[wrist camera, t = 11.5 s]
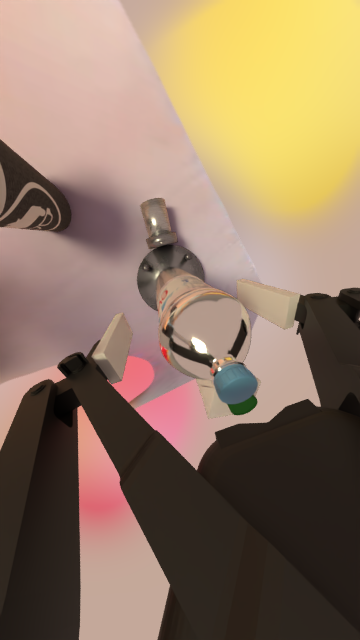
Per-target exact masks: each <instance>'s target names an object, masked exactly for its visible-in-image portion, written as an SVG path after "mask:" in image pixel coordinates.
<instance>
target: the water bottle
mask: <svg viewBox="0 0 360 640" xmlns="http://www.w3.org/2000/svg"><path fill="white" fill-rule="evenodd" d="M156 300H157V309H158V314H159V328H158V338H159V346H160V349H161V352H162V354H163V356H164V358H165V359H166V360H167V362H168V363H169V364H170V365H171V366H173V367H174V368H175V369H177V370H178V371H180V372H181V373H183V374H185V375H187V376H190V377H193V378H196V379H201V380H212V383H213V385H214V386H215V390H216V392H217V395H218V397H219V399H220V400H221V401H222V402H224V403H226V404H238V403H241V402H243V401H245V400H247V399H249V398H250V397H251V396H252V395H253V394H254V393H255V391H256V389H257V386H258V382H257V379H256V378H255V376H254V375H253V374H252V373H251V372H250V371H249V370H248V369H247V368H246V366H245V364H243V362H244V360H245V358H246V356H247V353H248V350H249V347H250V342H251V323H250V318H249V315H248V313H247V311H246V309H245V307H244V306H243V305H242V304H241V303H240V302H239V301H238V300H237V299H236V298H235V297H233V296H232V295H230V294H228V293H226V292H224V291H221V290H219V289H215V288H213V287H211V286H209V285H208V284H206V283H204V282H203V281H202V280H201V279H199V278H198V277H196V276H194V275H192V274H190V273H188V272H186V271H185V270H183V269H181V268H179V267H174V266H171V267H167V268H165V269H163V270H162V271H161V272H160V273H159V274H158V276H157V279H156Z"/></svg>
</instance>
